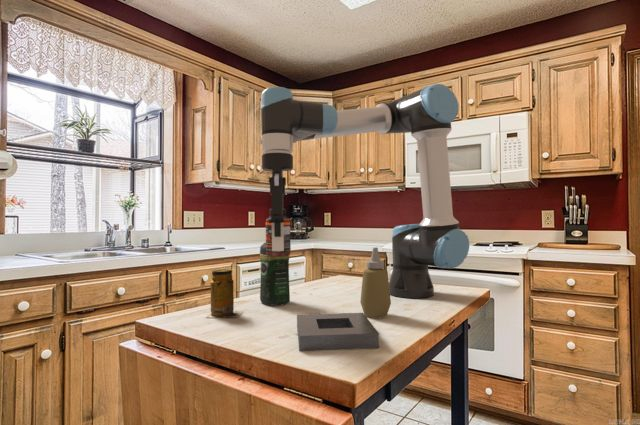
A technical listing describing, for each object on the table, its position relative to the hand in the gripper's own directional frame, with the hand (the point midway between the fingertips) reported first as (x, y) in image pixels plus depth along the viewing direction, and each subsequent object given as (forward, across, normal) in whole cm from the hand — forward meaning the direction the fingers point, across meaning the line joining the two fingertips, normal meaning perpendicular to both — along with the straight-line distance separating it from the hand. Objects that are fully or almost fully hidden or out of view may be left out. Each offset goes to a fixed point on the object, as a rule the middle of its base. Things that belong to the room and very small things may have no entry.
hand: (278, 249), depth 93 cm
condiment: (+19, -12, -15) cm, 27 cm away
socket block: (+19, +9, +12) cm, 24 cm away
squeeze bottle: (+19, -7, +25) cm, 32 cm away
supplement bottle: (+2, 0, 0) cm, 2 cm away
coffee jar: (+19, -24, -2) cm, 31 cm away
